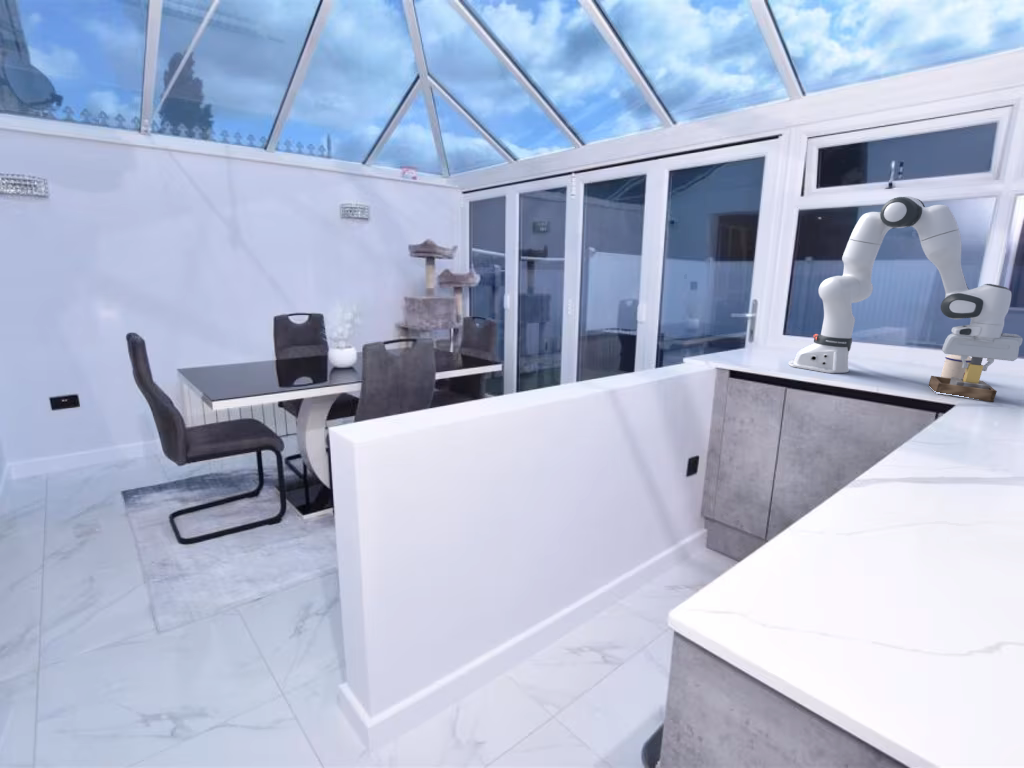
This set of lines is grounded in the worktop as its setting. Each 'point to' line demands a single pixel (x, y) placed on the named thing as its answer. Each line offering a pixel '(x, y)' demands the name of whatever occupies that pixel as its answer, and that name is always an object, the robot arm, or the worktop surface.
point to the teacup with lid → (954, 366)
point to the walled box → (963, 388)
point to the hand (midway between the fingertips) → (973, 369)
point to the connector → (973, 370)
